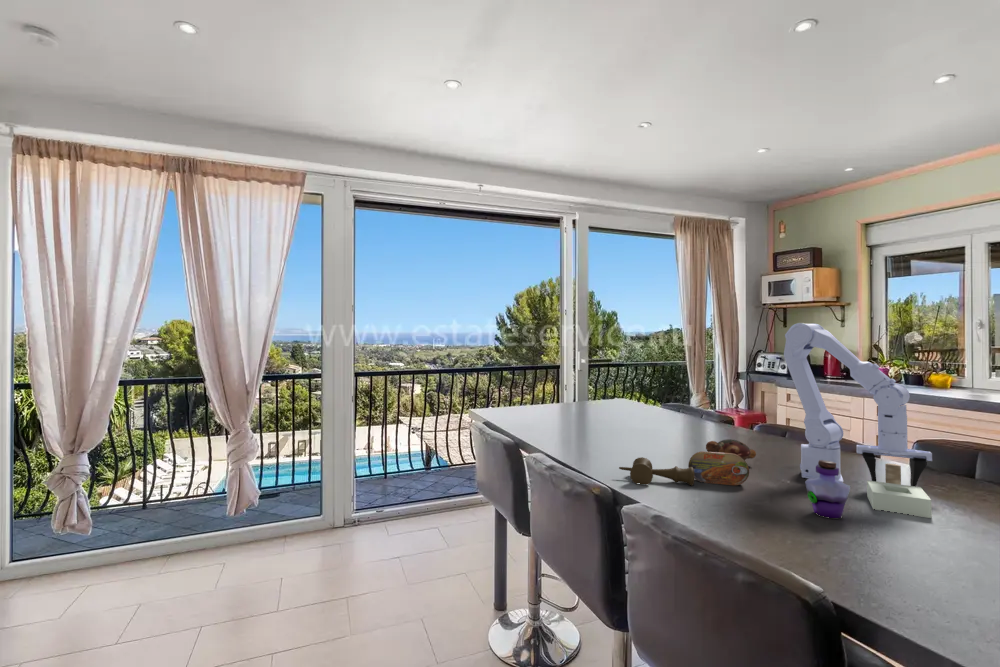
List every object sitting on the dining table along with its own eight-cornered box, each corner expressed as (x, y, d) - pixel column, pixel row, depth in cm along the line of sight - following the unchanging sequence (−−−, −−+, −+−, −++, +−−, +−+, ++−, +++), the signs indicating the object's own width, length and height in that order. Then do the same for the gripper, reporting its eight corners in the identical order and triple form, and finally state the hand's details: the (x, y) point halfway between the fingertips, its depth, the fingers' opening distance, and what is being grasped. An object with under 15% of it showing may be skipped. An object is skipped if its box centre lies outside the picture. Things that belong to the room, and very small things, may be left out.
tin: (688, 481, 127) (688, 451, 127) (688, 478, 130) (688, 448, 130) (749, 487, 122) (749, 456, 122) (748, 484, 124) (747, 453, 124)
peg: (886, 493, 116) (886, 465, 116) (884, 489, 119) (884, 462, 119) (902, 495, 114) (901, 467, 114) (899, 491, 117) (899, 464, 117)
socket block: (873, 509, 105) (872, 492, 105) (867, 496, 114) (866, 480, 114) (931, 518, 100) (931, 500, 100) (920, 504, 108) (920, 487, 108)
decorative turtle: (698, 462, 146) (698, 437, 146) (743, 460, 148) (742, 435, 148) (716, 471, 136) (716, 444, 136) (763, 469, 138) (763, 442, 138)
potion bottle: (796, 510, 105) (795, 458, 105) (820, 505, 108) (819, 454, 108) (836, 525, 97) (835, 468, 97) (860, 518, 100) (860, 463, 101)
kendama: (695, 492, 119) (617, 483, 126) (693, 482, 129) (619, 474, 135) (695, 469, 120) (617, 461, 126) (693, 461, 129) (620, 453, 135)
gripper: (858, 431, 117) (859, 484, 117) (935, 437, 109) (935, 494, 109) (855, 426, 123) (856, 477, 123) (927, 432, 115) (928, 486, 115)
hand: (893, 484), depth 117 cm, fingers open, 7 cm apart
